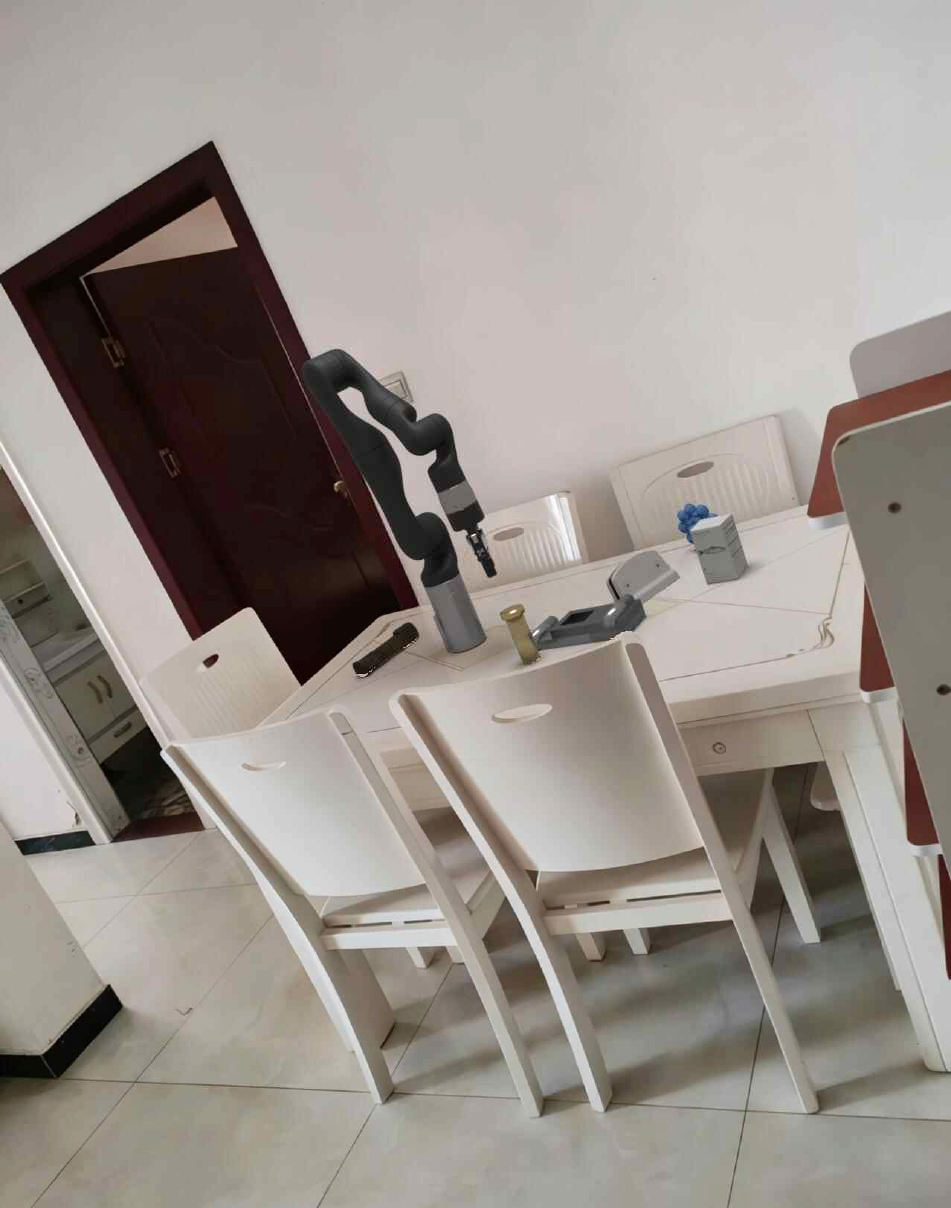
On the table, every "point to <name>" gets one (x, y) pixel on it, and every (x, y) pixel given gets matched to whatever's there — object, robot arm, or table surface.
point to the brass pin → (520, 633)
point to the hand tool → (387, 648)
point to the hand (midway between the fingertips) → (491, 572)
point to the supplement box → (719, 548)
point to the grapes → (692, 518)
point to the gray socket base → (590, 624)
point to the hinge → (641, 577)
